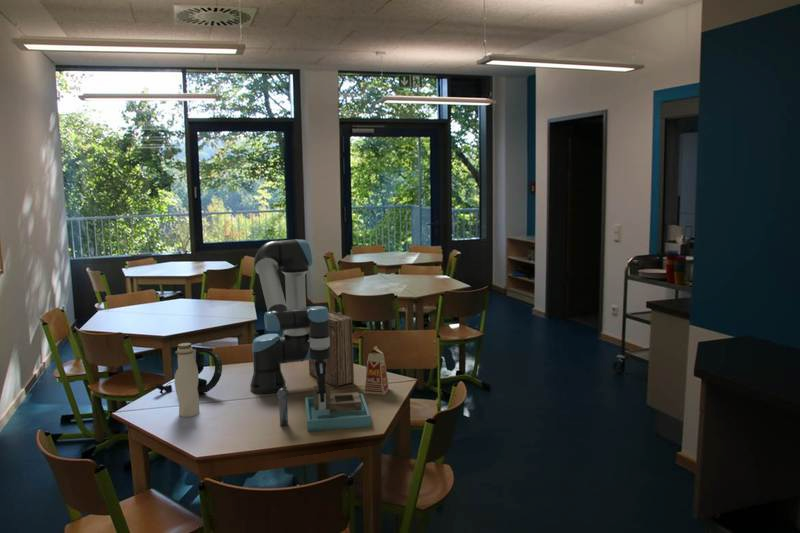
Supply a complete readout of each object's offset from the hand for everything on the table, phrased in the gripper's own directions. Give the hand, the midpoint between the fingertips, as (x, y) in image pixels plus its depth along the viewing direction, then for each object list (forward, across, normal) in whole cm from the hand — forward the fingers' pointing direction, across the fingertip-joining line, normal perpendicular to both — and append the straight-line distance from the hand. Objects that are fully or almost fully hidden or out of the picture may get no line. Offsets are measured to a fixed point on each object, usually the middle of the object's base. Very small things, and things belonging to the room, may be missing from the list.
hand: (322, 406), depth 254 cm
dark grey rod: (+4, +4, -14) cm, 16 cm away
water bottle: (+4, -17, -52) cm, 54 cm away
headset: (+4, -41, -54) cm, 68 cm away
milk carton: (+4, -27, +24) cm, 37 cm away
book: (+4, -48, +6) cm, 49 cm away
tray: (+4, 0, +6) cm, 7 cm away
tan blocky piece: (0, 0, +6) cm, 6 cm away
